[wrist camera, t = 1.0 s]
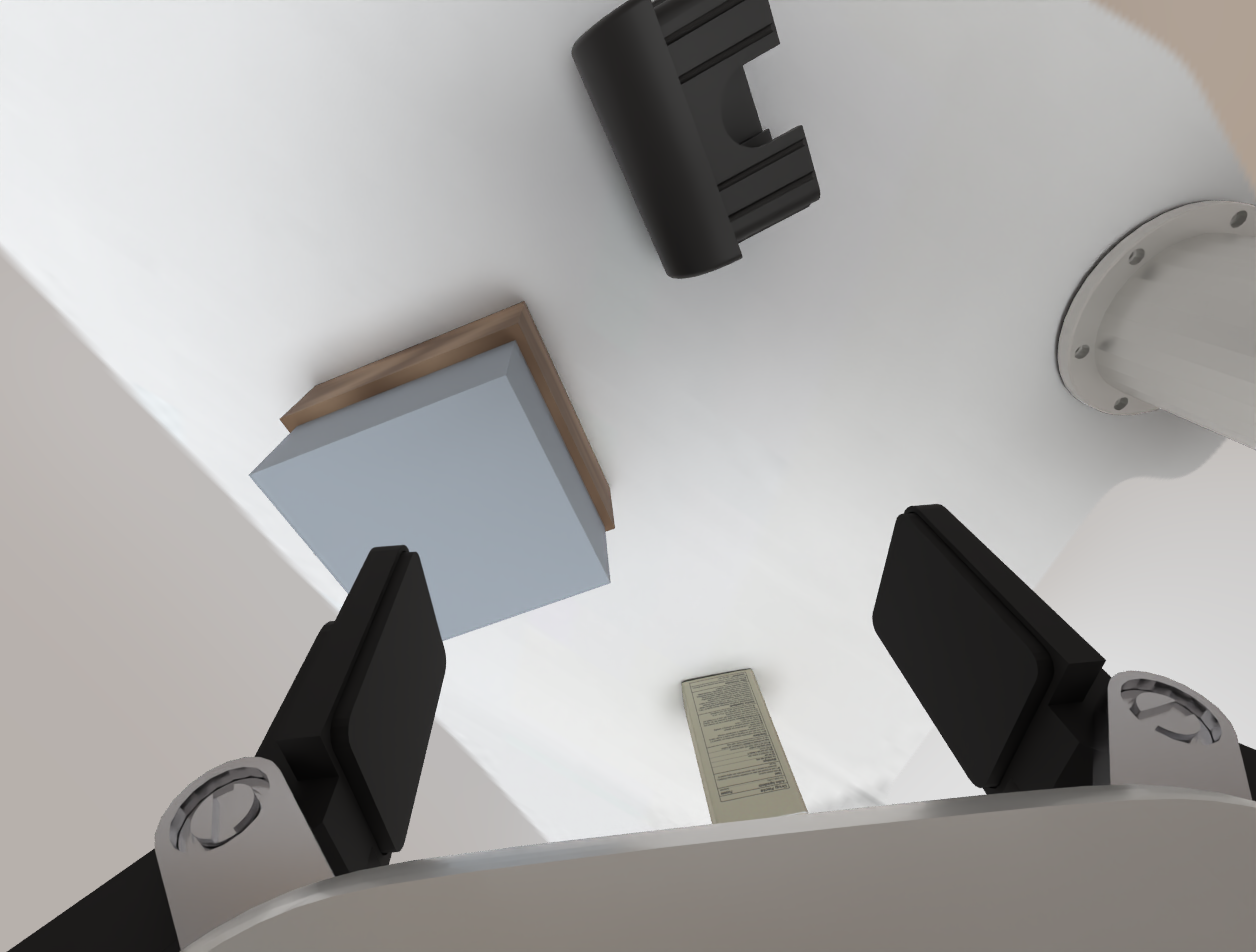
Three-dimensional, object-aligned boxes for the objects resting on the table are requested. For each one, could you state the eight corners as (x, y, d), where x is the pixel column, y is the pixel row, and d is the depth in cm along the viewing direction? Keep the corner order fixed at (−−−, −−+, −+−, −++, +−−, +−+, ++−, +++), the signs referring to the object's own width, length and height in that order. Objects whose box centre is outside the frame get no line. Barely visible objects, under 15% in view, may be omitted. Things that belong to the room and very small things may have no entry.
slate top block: (515, 339, 27) (505, 374, 23) (604, 527, 33) (610, 582, 29) (296, 426, 29) (248, 475, 24) (421, 592, 34) (400, 655, 30)
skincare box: (684, 713, 50) (716, 865, 39) (680, 679, 47) (712, 831, 37) (757, 700, 50) (808, 849, 39) (755, 666, 47) (809, 814, 37)
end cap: (568, 60, 26) (568, 34, 20) (710, -25, 25) (753, -79, 19) (658, 265, 31) (679, 292, 25) (780, 201, 30) (832, 213, 24)
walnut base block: (524, 299, 31) (518, 322, 27) (609, 485, 38) (614, 528, 33) (317, 383, 33) (279, 419, 28) (433, 549, 39) (417, 599, 35)
